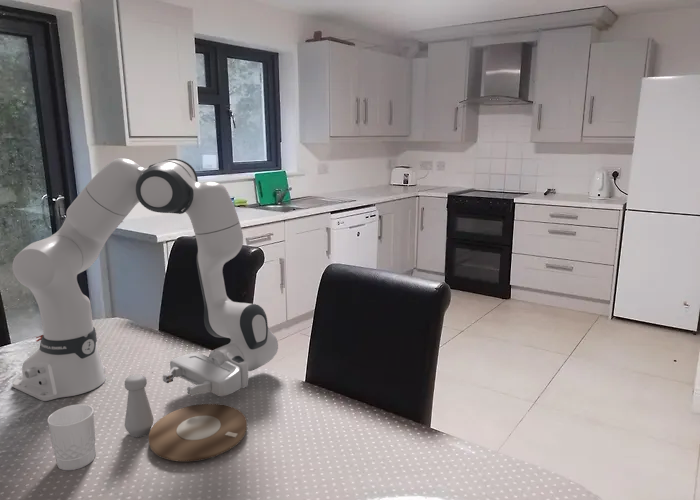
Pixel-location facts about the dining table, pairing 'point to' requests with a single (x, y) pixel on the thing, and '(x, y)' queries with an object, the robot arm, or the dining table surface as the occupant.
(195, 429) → the turntable
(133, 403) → the salt shaker
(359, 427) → the dining table surface
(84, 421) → the white cup
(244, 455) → the dining table surface
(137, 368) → the dining table surface
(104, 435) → the dining table surface
